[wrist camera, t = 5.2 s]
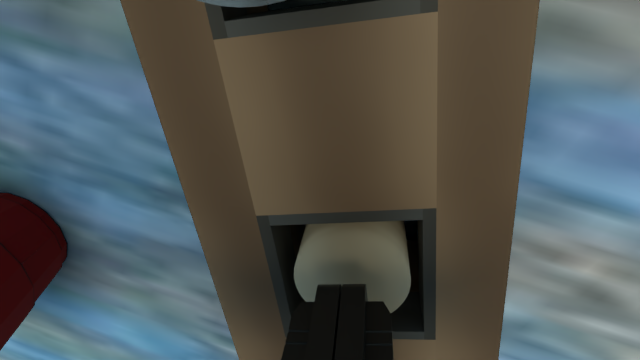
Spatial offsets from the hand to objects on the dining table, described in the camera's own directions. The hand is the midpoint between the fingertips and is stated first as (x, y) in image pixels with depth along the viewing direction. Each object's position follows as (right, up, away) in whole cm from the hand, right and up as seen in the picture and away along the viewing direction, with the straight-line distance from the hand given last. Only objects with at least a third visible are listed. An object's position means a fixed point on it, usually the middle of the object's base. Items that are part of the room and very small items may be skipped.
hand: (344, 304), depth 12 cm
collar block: (0, +8, +4) cm, 9 cm away
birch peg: (+1, +3, +6) cm, 7 cm away
